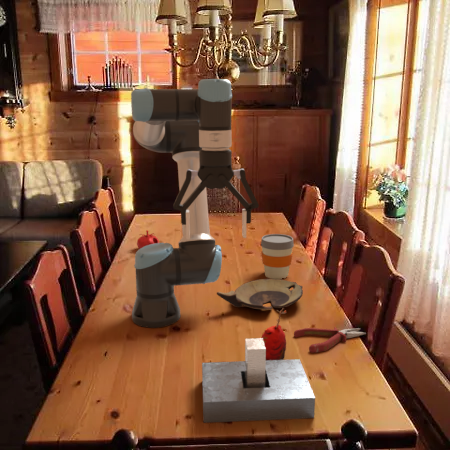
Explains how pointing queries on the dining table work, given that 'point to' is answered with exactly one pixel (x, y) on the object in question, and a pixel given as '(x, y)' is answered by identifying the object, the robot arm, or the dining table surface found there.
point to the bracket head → (256, 392)
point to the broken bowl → (264, 294)
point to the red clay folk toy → (275, 341)
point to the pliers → (334, 334)
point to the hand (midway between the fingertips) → (216, 237)
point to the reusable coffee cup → (277, 255)
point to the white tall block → (255, 363)
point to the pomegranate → (147, 240)
